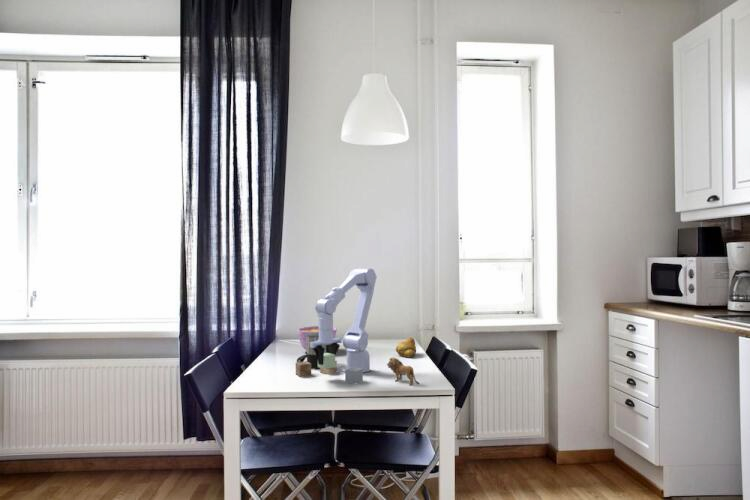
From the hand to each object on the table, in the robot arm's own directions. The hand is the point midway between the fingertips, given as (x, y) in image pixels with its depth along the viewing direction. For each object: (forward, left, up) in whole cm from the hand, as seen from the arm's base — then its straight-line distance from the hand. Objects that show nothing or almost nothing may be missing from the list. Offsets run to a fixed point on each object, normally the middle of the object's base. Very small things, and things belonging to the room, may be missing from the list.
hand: (326, 363), depth 208 cm
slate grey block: (-6, +10, -7) cm, 13 cm away
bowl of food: (-31, -48, -7) cm, 58 cm away
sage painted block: (0, 0, -2) cm, 2 cm away
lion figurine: (-19, +24, -7) cm, 31 cm away
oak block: (-8, -9, -7) cm, 14 cm away
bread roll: (-56, -9, -7) cm, 57 cm away
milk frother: (-11, -25, -7) cm, 28 cm away
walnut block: (+2, -13, -7) cm, 15 cm away
